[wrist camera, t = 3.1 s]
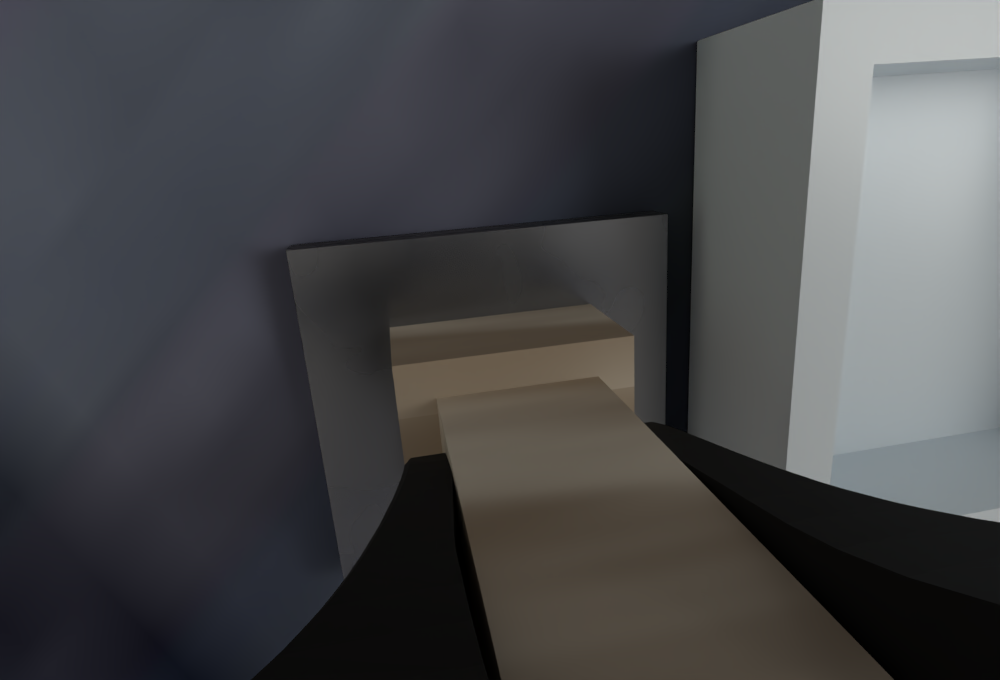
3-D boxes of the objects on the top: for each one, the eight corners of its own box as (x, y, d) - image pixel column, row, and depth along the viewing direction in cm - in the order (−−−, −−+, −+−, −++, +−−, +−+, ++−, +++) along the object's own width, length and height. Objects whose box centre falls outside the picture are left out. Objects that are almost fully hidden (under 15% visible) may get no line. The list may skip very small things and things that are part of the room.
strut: (594, 479, 15) (958, 1032, 6) (413, 509, 14) (477, 1197, 5) (590, 303, 14) (1057, 641, 4) (389, 327, 13) (416, 792, 4)
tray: (1033, 432, 18) (1203, 504, 14) (686, 491, 17) (775, 590, 13) (1121, 19, 15) (1370, -25, 11) (697, 41, 13) (823, -4, 9)
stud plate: (651, 513, 17) (704, 584, 14) (346, 566, 15) (339, 656, 13) (652, 210, 14) (717, 224, 11) (291, 244, 13) (267, 270, 10)
